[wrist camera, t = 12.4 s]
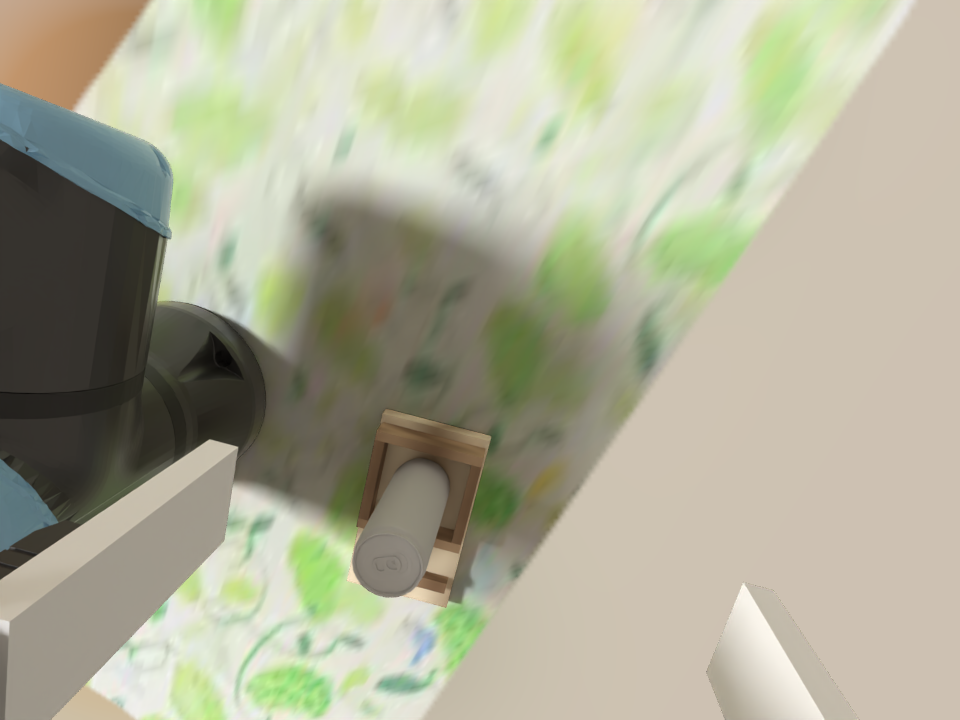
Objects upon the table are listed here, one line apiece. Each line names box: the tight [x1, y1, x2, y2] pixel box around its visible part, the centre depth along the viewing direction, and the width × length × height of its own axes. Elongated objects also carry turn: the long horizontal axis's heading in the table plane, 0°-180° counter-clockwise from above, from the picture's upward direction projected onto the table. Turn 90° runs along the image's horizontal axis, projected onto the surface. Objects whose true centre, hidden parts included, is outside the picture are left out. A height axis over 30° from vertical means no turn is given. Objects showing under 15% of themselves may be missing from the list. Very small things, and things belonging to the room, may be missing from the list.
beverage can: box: [352, 458, 450, 597], centre depth 42 cm, size 5×5×12 cm
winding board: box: [347, 409, 491, 608], centre depth 48 cm, size 9×16×3 cm, turn 166°
